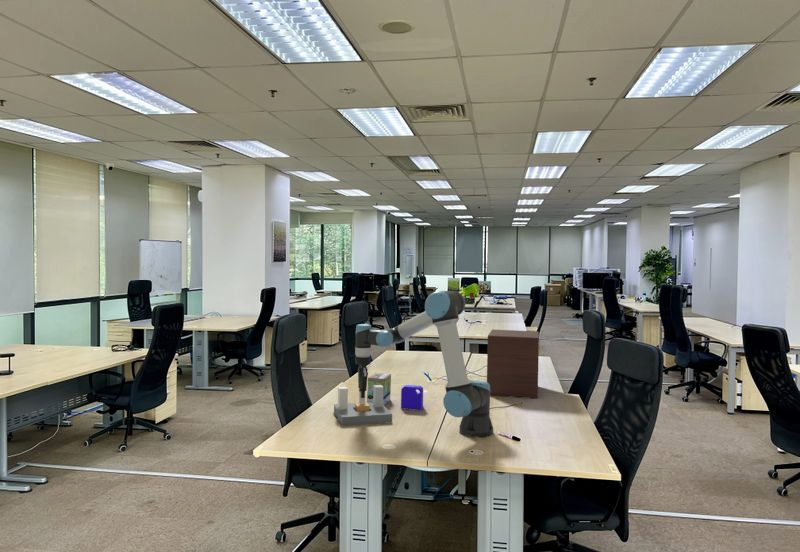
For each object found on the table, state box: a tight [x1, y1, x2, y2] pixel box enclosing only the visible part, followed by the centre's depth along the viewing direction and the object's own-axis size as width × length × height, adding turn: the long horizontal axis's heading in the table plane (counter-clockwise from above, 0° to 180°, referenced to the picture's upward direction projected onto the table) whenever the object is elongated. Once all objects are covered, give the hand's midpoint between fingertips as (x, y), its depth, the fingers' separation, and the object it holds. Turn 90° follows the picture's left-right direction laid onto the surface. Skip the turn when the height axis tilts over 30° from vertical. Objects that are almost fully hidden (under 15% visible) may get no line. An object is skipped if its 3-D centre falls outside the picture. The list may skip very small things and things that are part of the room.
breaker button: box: [355, 402, 370, 412], centre depth 259 cm, size 6×6×5 cm
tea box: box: [366, 372, 392, 406], centre depth 289 cm, size 15×10×15 cm
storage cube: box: [486, 329, 540, 399], centre depth 324 cm, size 35×29×35 cm
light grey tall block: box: [373, 385, 384, 408], centre depth 266 cm, size 5×4×10 cm
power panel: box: [333, 402, 393, 427], centre depth 259 cm, size 24×24×4 cm
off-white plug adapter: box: [337, 385, 349, 410], centre depth 261 cm, size 5×4×10 cm
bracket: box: [400, 384, 424, 411], centre depth 284 cm, size 18×11×12 cm, turn 167°
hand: (362, 403), depth 259 cm, fingers closed
